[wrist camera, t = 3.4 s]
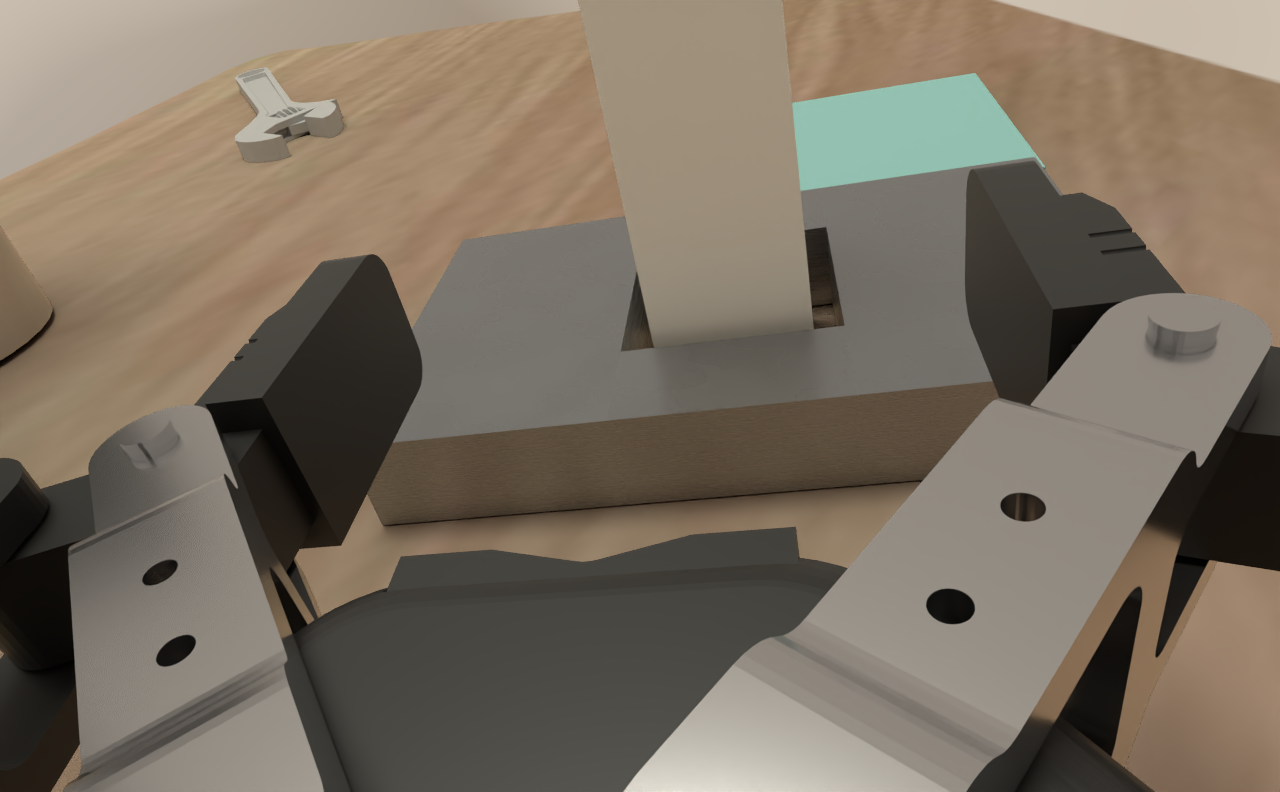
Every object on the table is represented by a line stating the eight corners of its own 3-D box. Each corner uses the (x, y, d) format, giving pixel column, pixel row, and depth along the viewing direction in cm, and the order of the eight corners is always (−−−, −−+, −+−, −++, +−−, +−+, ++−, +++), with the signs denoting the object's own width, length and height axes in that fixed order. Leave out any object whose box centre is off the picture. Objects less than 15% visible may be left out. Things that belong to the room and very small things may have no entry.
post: (666, 414, 24) (528, -212, 16) (675, 333, 27) (565, -217, 19) (822, 398, 23) (759, -267, 15) (812, 317, 26) (755, -262, 18)
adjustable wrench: (240, 94, 72) (230, 72, 71) (319, 72, 73) (310, 50, 72) (247, 175, 52) (233, 145, 51) (355, 142, 53) (344, 112, 52)
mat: (723, 228, 32) (720, 213, 32) (726, 126, 41) (724, 114, 41) (1044, 183, 30) (1045, 167, 30) (974, 86, 39) (975, 72, 39)
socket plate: (382, 525, 22) (344, 447, 21) (485, 304, 31) (463, 240, 30) (1168, 459, 19) (1186, 361, 17) (1030, 233, 28) (1034, 156, 26)
